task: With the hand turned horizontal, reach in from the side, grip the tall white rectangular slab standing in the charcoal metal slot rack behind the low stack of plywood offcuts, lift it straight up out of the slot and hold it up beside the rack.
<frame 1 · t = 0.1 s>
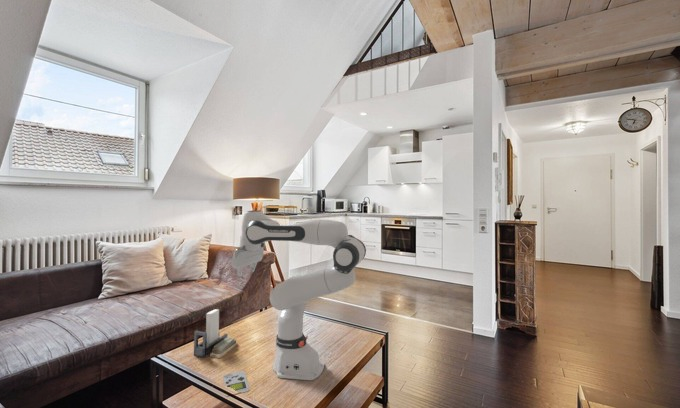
hand: (246, 273, 140), 39 cm above the table, tool pointing down, fingers open, 8 cm apart
slot rack: (212, 347, 148), on the table
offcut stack: (224, 350, 146), on the table
handheld gaming device: (235, 384, 121), on the table
white rectangular slab: (212, 347, 148), resting in slot rack
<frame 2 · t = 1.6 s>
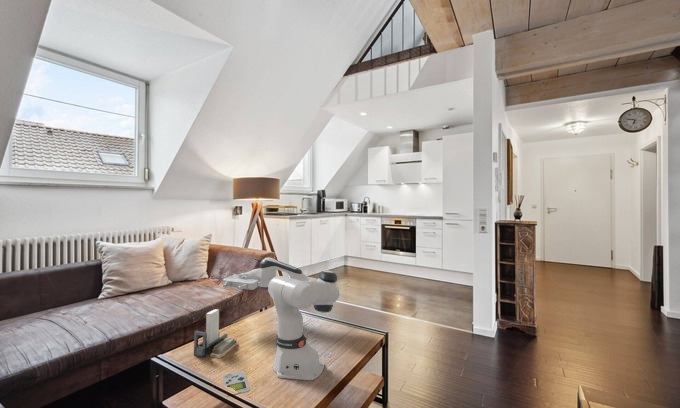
hand: (231, 287, 161), 26 cm above the table, tool horizontal, fingers open, 8 cm apart
nothing on the table moved.
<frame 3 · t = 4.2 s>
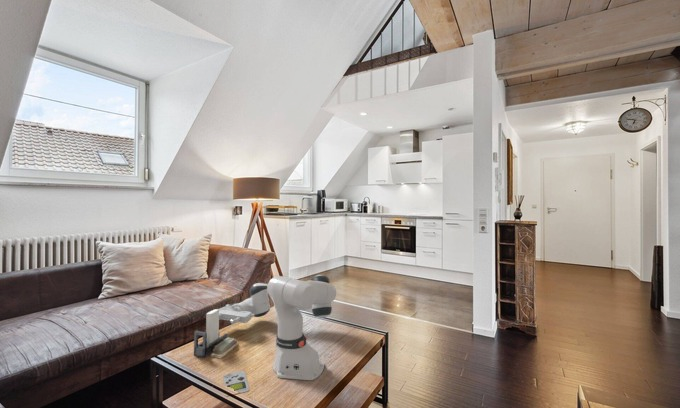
hand: (223, 321, 157), 10 cm above the table, tool horizontal, fingers open, 8 cm apart
nothing on the table moved.
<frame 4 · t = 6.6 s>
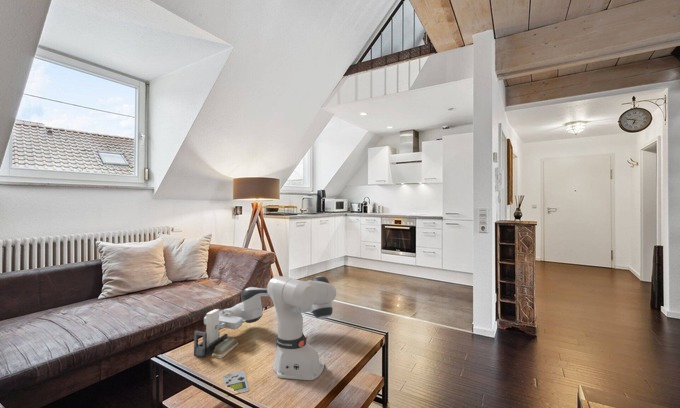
hand: (212, 327, 148), 10 cm above the table, tool horizontal, fingers closed on white rectangular slab, 2 cm apart
white rectangular slab: (212, 347, 148), resting in slot rack, touching gripper
everything else where it was.
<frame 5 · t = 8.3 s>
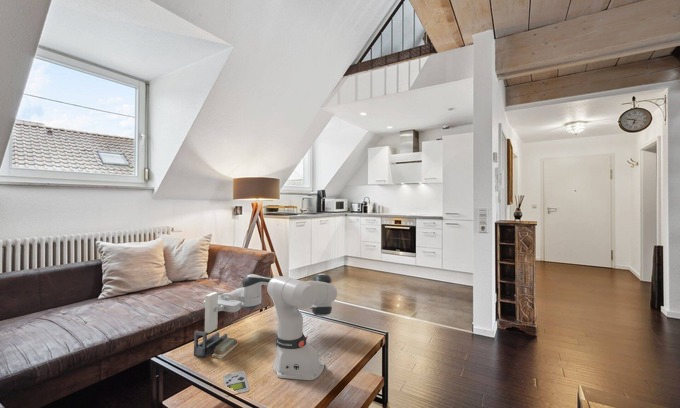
hand: (211, 309, 149), 19 cm above the table, tool horizontal, fingers closed on white rectangular slab, 2 cm apart
white rectangular slab: (211, 330, 149), point 8 cm above the table, touching gripper
everything else where it was.
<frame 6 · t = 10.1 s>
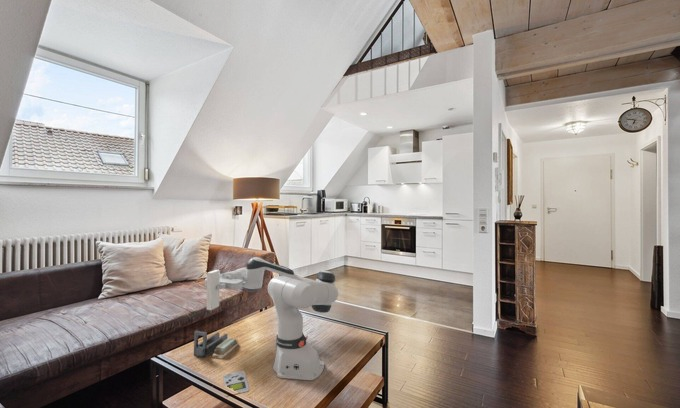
hand: (213, 287, 148), 30 cm above the table, tool horizontal, fingers closed on white rectangular slab, 2 cm apart
white rectangular slab: (213, 307, 148), point 20 cm above the table, touching gripper
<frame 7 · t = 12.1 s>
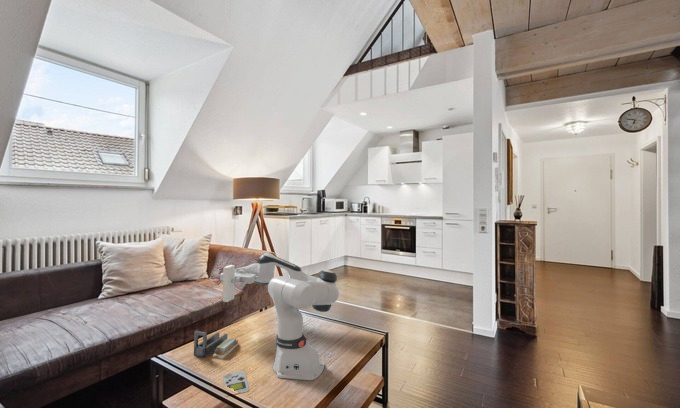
hand: (229, 281, 159), 30 cm above the table, tool horizontal, fingers closed on white rectangular slab, 2 cm apart
white rectangular slab: (228, 300, 160), point 20 cm above the table, touching gripper
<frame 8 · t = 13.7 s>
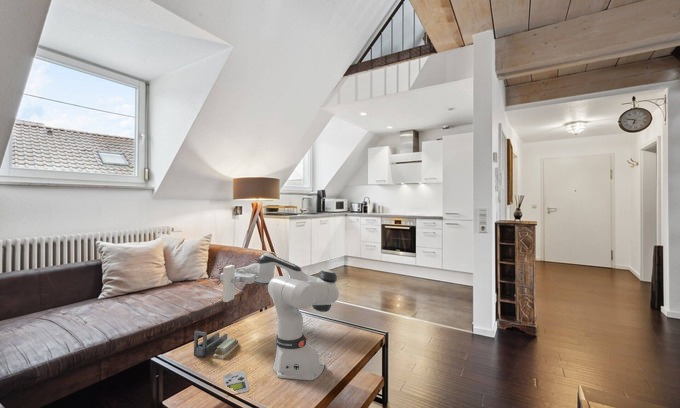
hand: (229, 281, 159), 30 cm above the table, tool horizontal, fingers closed on white rectangular slab, 2 cm apart
white rectangular slab: (228, 300, 160), point 20 cm above the table, touching gripper
at the end: the gripper is holding white rectangular slab; white rectangular slab inside the target area (0.4 cm from its centre), point 19.8 cm above the table; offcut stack moved 1.6 cm from its start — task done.
